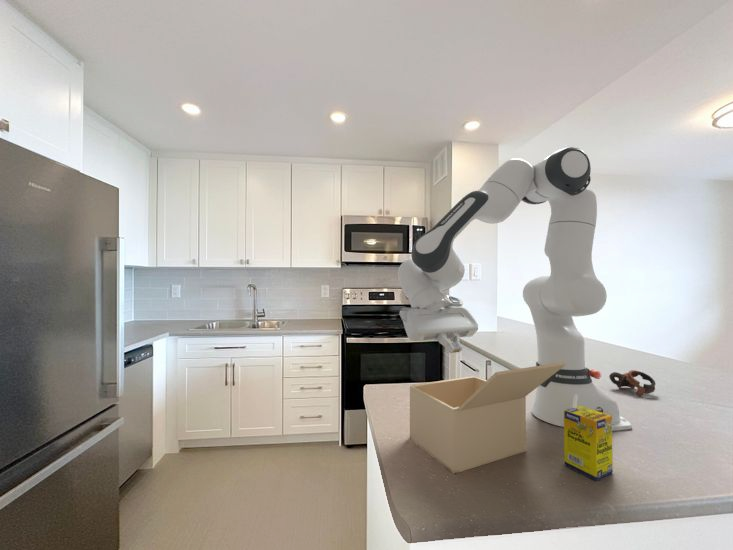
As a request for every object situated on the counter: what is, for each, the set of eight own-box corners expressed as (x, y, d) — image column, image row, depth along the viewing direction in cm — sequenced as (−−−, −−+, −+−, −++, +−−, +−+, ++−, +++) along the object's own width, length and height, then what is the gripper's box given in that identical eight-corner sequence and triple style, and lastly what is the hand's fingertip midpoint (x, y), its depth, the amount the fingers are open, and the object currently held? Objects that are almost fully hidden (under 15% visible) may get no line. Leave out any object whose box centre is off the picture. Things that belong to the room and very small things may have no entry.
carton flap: (564, 362, 58) (566, 364, 58) (522, 395, 66) (523, 397, 66) (495, 372, 51) (497, 374, 50) (457, 408, 59) (458, 411, 58)
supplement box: (597, 482, 56) (596, 421, 56) (563, 465, 61) (562, 409, 62) (614, 473, 59) (612, 415, 59) (580, 457, 64) (579, 404, 64)
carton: (473, 422, 80) (473, 375, 81) (526, 451, 66) (525, 394, 67) (408, 437, 72) (408, 385, 72) (453, 474, 58) (453, 409, 58)
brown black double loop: (642, 390, 109) (654, 373, 105) (650, 410, 102) (663, 392, 98) (602, 377, 114) (612, 360, 110) (607, 395, 106) (617, 378, 102)
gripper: (401, 299, 75) (426, 346, 66) (465, 298, 84) (494, 340, 75) (392, 316, 79) (414, 363, 70) (454, 313, 88) (480, 355, 79)
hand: (456, 351), depth 72 cm, fingers closed
